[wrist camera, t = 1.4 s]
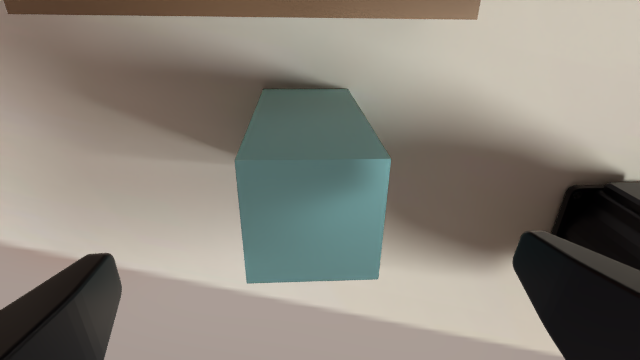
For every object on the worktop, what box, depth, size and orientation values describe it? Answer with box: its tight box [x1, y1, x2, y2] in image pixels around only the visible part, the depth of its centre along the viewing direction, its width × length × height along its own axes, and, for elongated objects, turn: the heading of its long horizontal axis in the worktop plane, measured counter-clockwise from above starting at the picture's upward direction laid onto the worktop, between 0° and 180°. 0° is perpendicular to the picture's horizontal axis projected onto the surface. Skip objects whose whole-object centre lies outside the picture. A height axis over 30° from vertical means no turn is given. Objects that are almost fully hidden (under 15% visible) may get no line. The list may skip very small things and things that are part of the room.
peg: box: [235, 89, 391, 283], centre depth 16 cm, size 5×5×10 cm
